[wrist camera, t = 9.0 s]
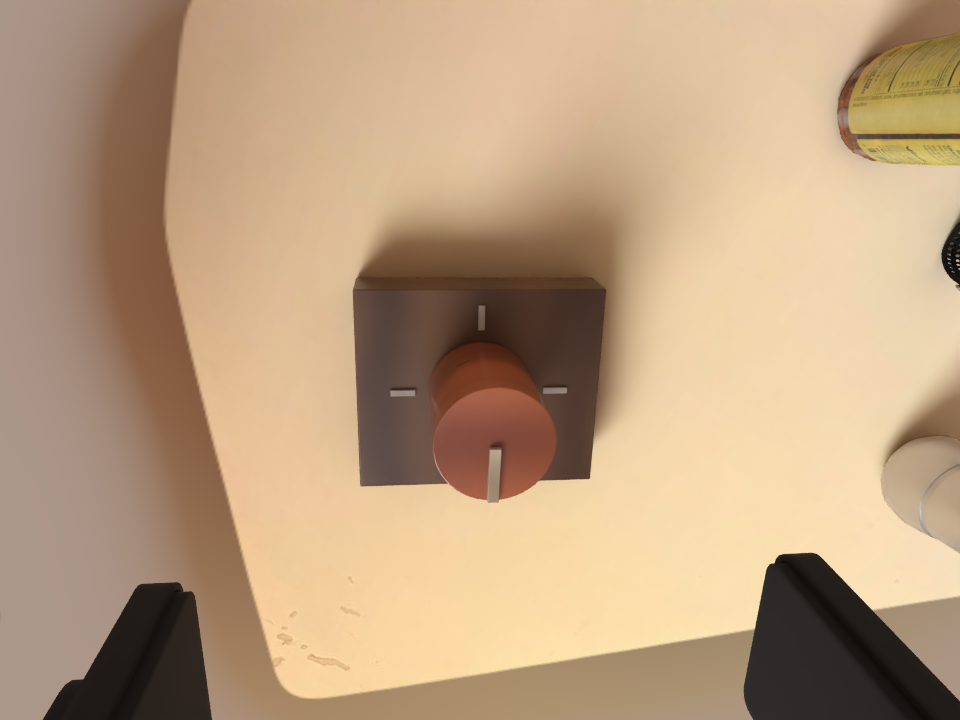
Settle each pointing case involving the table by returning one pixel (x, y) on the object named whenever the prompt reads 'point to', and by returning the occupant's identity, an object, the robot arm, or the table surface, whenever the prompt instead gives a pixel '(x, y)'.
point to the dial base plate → (459, 321)
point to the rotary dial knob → (488, 423)
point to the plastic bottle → (926, 487)
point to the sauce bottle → (905, 104)
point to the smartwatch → (952, 256)
